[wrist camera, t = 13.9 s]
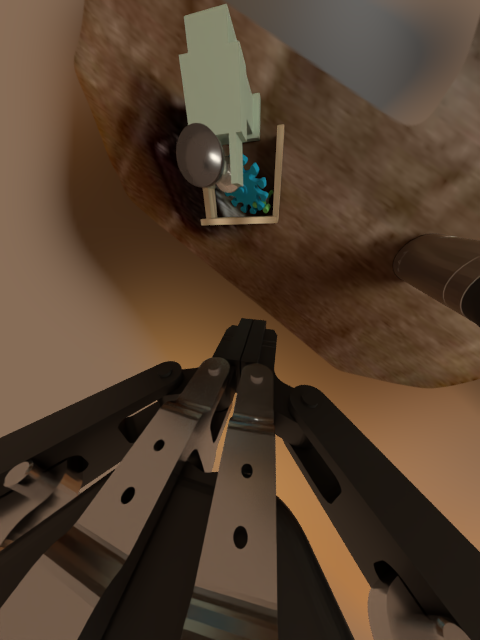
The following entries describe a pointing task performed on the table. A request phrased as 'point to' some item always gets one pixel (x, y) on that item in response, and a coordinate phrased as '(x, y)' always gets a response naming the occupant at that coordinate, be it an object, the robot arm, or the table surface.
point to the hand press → (219, 84)
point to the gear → (252, 191)
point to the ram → (203, 158)
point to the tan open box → (213, 220)
